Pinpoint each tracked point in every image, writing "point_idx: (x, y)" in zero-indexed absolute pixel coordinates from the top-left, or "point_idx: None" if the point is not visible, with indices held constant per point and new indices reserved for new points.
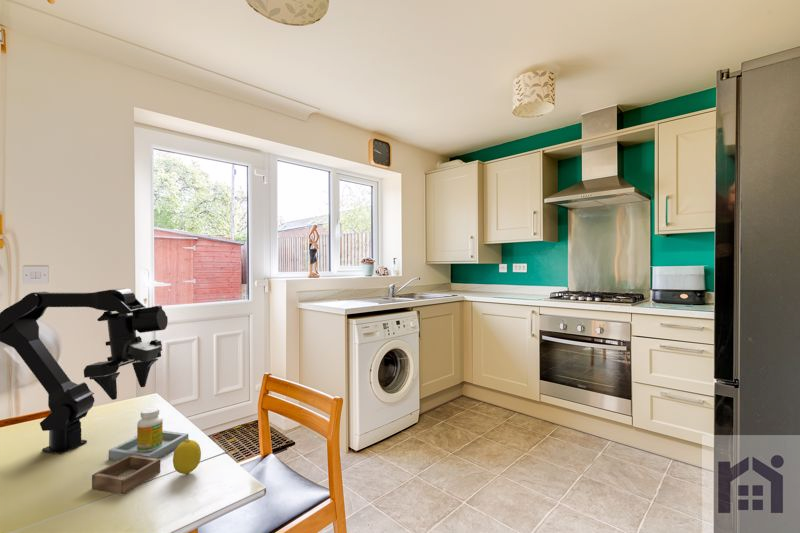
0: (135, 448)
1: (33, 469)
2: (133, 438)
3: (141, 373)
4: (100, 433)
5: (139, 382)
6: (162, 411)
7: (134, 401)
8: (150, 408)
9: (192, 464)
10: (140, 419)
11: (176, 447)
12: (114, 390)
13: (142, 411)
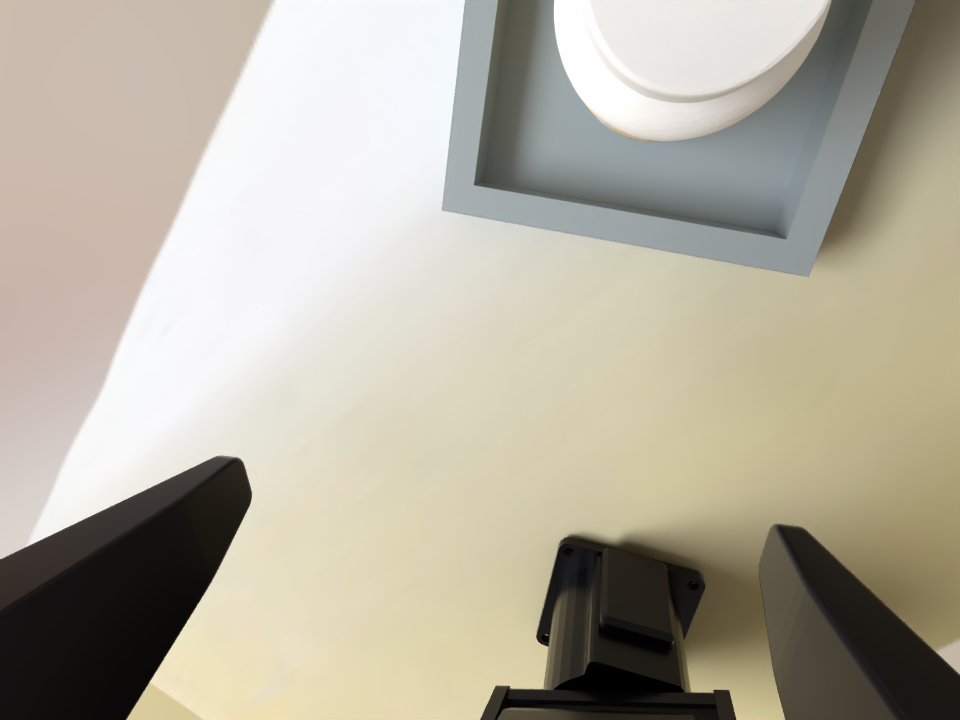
0: (673, 160)
1: (873, 585)
2: (608, 234)
3: (59, 675)
4: (450, 543)
5: (209, 564)
6: (138, 404)
7: None
8: (637, 14)
9: None
10: (719, 104)
11: None
12: (927, 663)
13: (768, 45)
